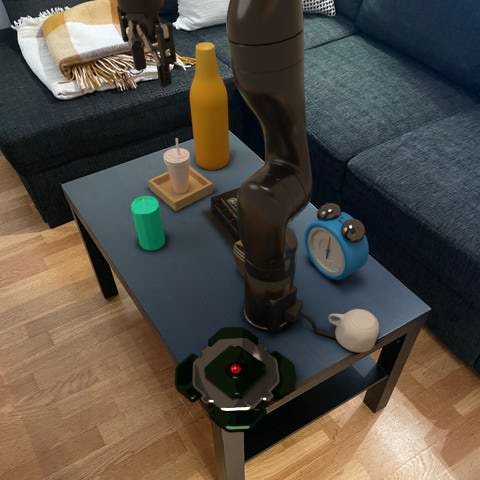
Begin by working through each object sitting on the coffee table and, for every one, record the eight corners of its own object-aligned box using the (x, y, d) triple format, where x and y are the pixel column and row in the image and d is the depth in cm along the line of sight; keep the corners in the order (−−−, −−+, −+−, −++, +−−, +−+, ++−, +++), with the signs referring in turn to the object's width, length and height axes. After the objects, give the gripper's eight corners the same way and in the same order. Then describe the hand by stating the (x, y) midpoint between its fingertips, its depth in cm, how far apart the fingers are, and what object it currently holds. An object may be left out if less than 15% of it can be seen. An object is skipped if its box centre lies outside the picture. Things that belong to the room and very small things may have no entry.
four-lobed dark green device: (232, 327, 94) (232, 312, 91) (304, 378, 86) (308, 364, 83) (165, 383, 85) (162, 369, 82) (239, 446, 78) (240, 433, 74)
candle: (151, 229, 112) (142, 186, 102) (170, 239, 109) (163, 196, 100) (134, 243, 109) (123, 201, 99) (153, 254, 106) (144, 211, 97)
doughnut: (231, 266, 104) (230, 231, 96) (245, 259, 105) (245, 225, 97) (255, 293, 99) (255, 259, 91) (269, 286, 100) (271, 252, 92)
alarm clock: (300, 257, 105) (307, 203, 93) (321, 245, 107) (330, 191, 95) (342, 292, 99) (355, 239, 87) (363, 279, 101) (378, 225, 89)
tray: (213, 192, 120) (212, 183, 118) (175, 211, 115) (174, 202, 113) (186, 171, 125) (185, 162, 123) (149, 189, 121) (148, 180, 119)
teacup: (376, 342, 84) (367, 359, 88) (389, 314, 88) (380, 331, 93) (324, 318, 86) (318, 336, 91) (339, 292, 91) (333, 310, 95)
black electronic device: (204, 212, 115) (198, 149, 101) (254, 194, 119) (255, 131, 105) (244, 264, 104) (243, 201, 91) (297, 242, 108) (305, 179, 94)
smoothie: (190, 198, 117) (183, 147, 106) (165, 195, 118) (156, 144, 107) (196, 182, 121) (191, 132, 110) (172, 180, 122) (165, 129, 111)
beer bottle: (204, 174, 124) (194, 59, 101) (190, 156, 129) (177, 42, 107) (235, 164, 127) (233, 49, 104) (220, 147, 132) (214, 34, 109)
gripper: (93, -32, 77) (116, 70, 90) (139, -10, 70) (157, 98, 83) (133, -42, 80) (149, 58, 93) (180, -22, 73) (191, 84, 86)
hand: (153, 77), depth 88 cm, fingers open, 8 cm apart
